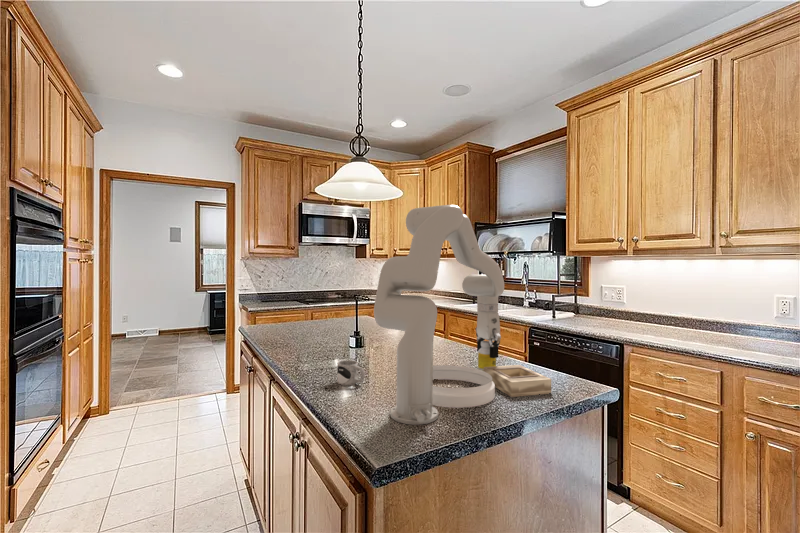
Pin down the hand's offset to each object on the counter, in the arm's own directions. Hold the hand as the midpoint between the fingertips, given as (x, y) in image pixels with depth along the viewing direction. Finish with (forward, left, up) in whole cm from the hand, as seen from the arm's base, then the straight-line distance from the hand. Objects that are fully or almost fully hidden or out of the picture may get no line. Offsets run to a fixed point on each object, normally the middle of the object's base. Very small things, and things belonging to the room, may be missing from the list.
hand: (487, 354), depth 144 cm
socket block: (-16, -2, -7) cm, 18 cm away
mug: (0, +50, -7) cm, 51 cm away
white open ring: (-16, +21, -8) cm, 28 cm away
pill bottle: (0, 0, -7) cm, 7 cm away
